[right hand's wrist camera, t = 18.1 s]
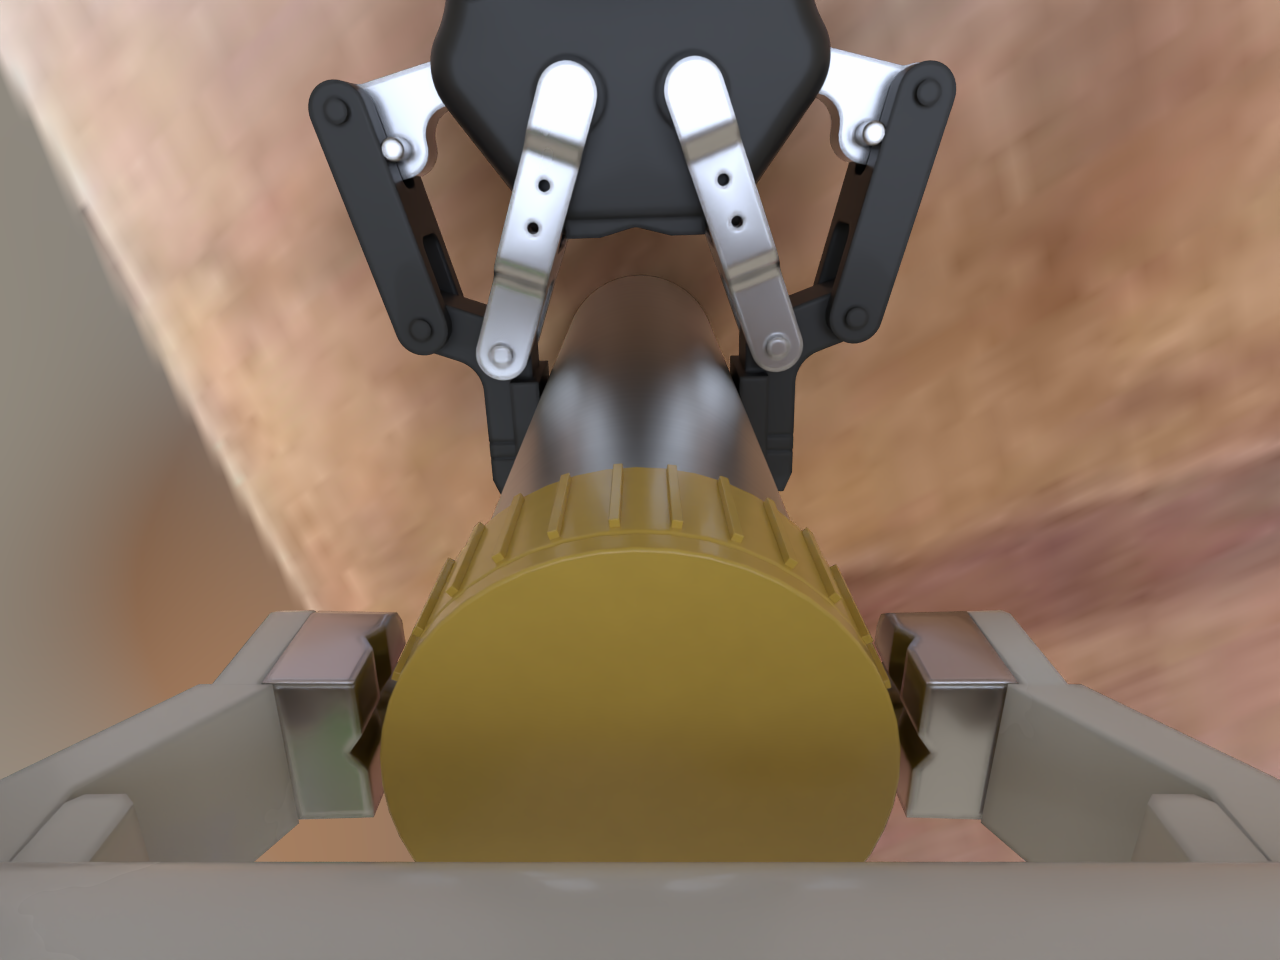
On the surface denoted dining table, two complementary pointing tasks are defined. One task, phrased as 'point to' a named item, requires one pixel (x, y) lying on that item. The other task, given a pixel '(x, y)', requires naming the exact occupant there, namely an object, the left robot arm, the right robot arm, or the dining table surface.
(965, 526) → the dining table surface
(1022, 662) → the right robot arm
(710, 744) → the lid
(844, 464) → the dining table surface
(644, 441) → the silver canister
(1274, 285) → the dining table surface
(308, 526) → the dining table surface
